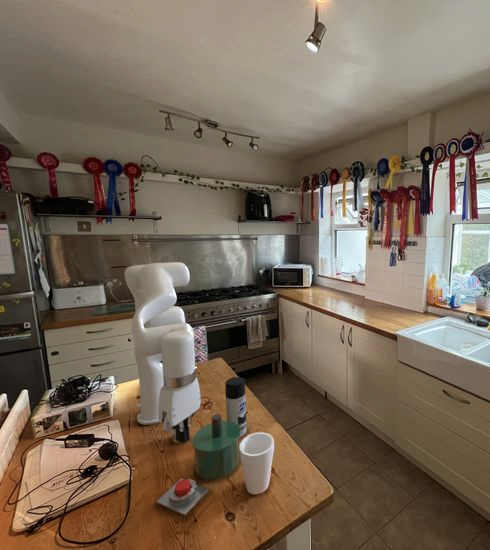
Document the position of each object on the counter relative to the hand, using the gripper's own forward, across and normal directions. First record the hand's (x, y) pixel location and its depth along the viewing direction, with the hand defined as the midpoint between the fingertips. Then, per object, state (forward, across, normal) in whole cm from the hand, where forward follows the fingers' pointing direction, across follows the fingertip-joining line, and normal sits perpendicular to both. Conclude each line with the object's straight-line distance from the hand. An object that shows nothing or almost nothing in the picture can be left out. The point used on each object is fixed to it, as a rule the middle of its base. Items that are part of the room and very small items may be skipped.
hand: (182, 440), depth 80 cm
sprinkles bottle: (+15, -14, -18) cm, 27 cm away
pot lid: (+5, -10, +2) cm, 12 cm away
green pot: (+15, -10, +2) cm, 18 cm away
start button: (+12, +3, +2) cm, 13 cm away
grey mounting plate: (+15, +3, +2) cm, 15 cm away
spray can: (+15, -24, -2) cm, 28 cm away
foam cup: (+15, -8, +18) cm, 25 cm away
